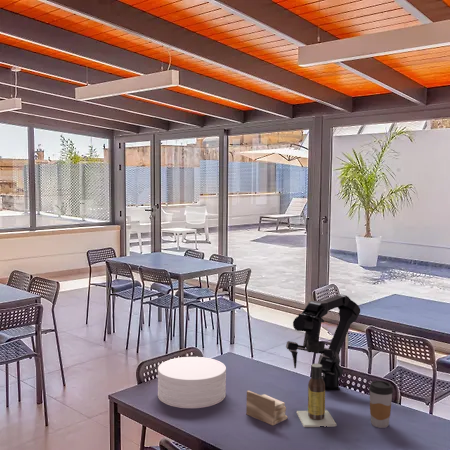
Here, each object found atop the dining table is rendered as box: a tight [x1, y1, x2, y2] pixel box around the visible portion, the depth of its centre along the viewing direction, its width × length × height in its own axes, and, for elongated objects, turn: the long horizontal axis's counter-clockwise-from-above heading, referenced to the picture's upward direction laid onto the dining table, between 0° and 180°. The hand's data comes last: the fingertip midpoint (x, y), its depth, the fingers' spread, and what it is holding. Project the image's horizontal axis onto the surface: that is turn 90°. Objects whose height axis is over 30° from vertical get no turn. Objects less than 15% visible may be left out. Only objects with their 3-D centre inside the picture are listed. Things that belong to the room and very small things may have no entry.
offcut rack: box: [245, 390, 288, 426], centre depth 198 cm, size 9×13×9 cm
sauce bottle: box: [307, 363, 326, 420], centre depth 195 cm, size 6×6×20 cm
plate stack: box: [157, 356, 227, 409], centre depth 218 cm, size 28×28×12 cm
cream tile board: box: [296, 409, 337, 428], centre depth 196 cm, size 12×12×1 cm
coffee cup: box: [368, 380, 394, 429], centre depth 192 cm, size 8×8×15 cm
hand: (306, 370), depth 215 cm, fingers open, 9 cm apart
